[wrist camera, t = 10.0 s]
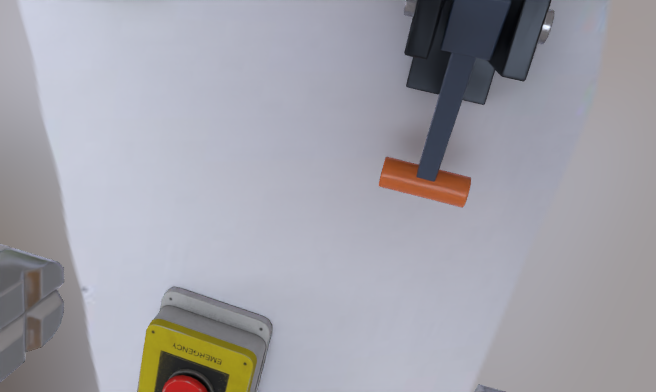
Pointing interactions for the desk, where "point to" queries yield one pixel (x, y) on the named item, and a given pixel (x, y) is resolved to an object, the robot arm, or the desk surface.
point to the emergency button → (203, 346)
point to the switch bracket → (508, 58)
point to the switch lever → (450, 102)
